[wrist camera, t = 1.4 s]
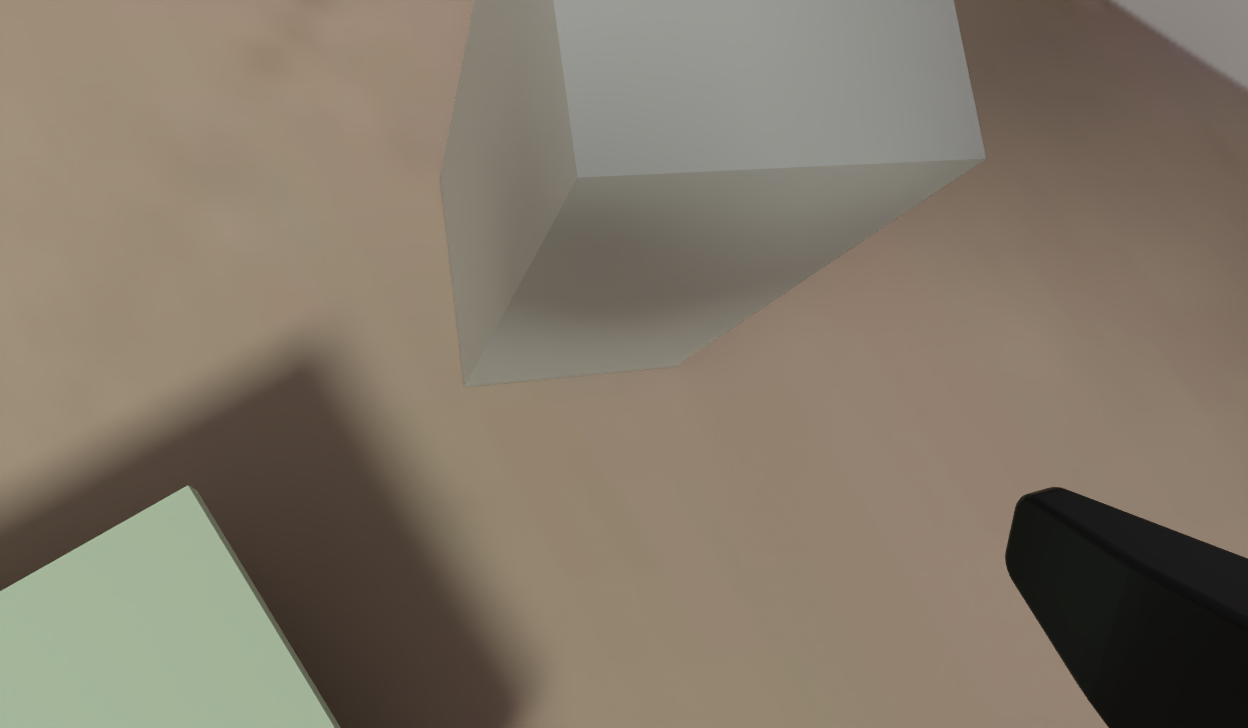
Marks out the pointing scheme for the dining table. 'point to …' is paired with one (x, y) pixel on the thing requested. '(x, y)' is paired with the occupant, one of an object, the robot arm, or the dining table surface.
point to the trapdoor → (150, 635)
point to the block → (681, 166)
